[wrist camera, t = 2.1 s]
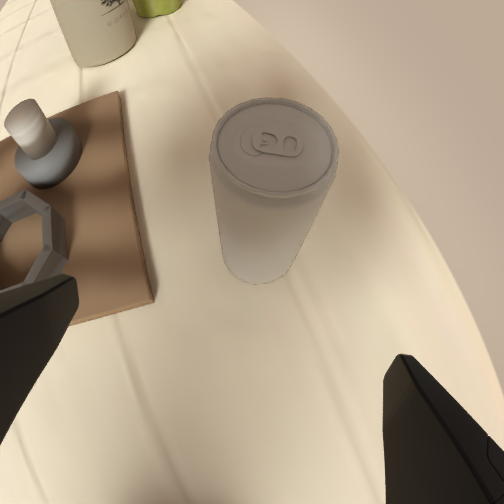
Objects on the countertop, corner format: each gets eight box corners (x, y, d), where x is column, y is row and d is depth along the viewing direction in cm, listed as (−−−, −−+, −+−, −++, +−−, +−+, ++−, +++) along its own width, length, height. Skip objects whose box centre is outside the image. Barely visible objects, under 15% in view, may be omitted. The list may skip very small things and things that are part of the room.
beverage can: (229, 215, 23) (222, 88, 12) (296, 225, 23) (341, 106, 12) (217, 281, 22) (193, 188, 10) (289, 291, 22) (342, 210, 10)
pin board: (154, 302, 21) (114, 271, 14) (-14, 347, 19) (-78, 333, 12) (120, 99, 27) (99, 40, 20) (-10, 156, 25) (-46, 115, 18)
